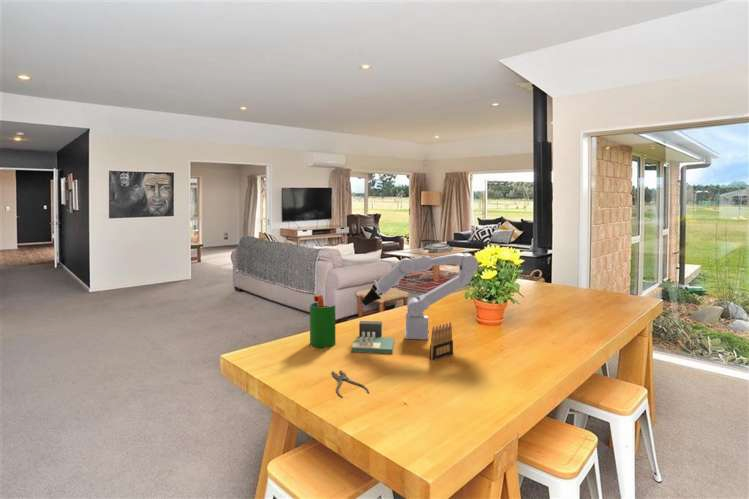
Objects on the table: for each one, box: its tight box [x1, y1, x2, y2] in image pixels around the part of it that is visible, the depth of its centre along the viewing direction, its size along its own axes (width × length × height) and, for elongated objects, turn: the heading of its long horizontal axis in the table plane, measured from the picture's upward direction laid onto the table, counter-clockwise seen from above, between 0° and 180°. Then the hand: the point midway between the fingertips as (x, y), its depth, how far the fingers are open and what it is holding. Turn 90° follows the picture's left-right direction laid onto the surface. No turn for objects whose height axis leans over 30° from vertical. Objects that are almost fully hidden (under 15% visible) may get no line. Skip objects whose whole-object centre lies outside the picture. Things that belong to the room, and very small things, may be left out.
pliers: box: [331, 369, 370, 399], centre depth 143 cm, size 10×1×20 cm
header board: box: [351, 332, 395, 354], centre depth 177 cm, size 15×14×4 cm
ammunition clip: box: [429, 321, 454, 361], centre depth 166 cm, size 11×2×12 cm, turn 129°
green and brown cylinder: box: [309, 294, 336, 349], centre depth 179 cm, size 10×9×20 cm
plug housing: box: [358, 320, 383, 337], centre depth 189 cm, size 9×4×6 cm, turn 85°
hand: (364, 301), depth 189 cm, fingers open, 7 cm apart
